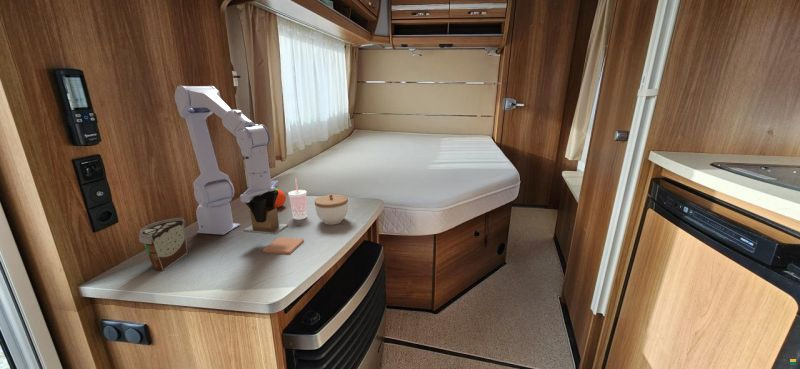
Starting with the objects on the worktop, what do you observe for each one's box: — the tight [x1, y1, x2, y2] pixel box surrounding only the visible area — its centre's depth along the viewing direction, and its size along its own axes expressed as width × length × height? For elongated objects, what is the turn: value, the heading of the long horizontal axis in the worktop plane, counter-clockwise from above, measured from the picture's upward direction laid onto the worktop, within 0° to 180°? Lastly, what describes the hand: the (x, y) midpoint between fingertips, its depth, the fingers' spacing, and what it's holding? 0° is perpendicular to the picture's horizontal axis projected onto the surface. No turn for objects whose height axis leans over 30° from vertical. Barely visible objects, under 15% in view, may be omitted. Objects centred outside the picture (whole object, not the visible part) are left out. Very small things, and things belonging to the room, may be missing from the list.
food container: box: [138, 217, 189, 272], centre depth 84 cm, size 12×6×10 cm, turn 178°
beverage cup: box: [287, 177, 308, 220], centre depth 113 cm, size 6×6×14 cm
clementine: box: [274, 188, 287, 209], centre depth 125 cm, size 8×7×7 cm
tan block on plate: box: [243, 207, 289, 236], centre depth 92 cm, size 10×6×6 cm, turn 76°
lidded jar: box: [314, 193, 349, 225], centre depth 109 cm, size 11×11×9 cm
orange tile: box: [262, 236, 305, 255], centre depth 93 cm, size 1×8×8 cm
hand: (265, 219), depth 92 cm, fingers closed on tan block on plate, 3 cm apart
